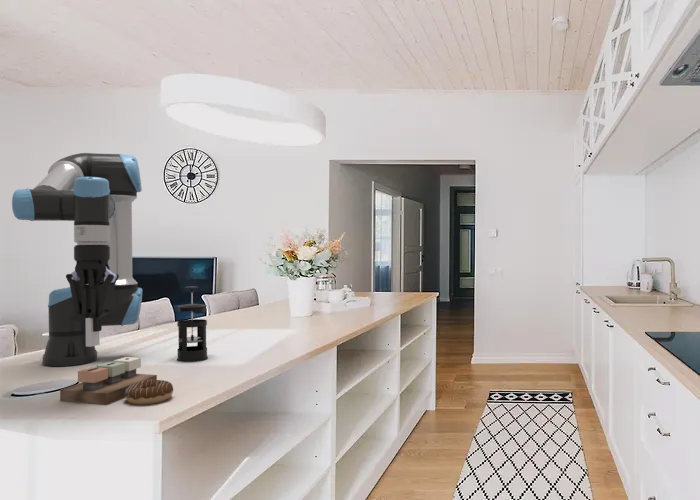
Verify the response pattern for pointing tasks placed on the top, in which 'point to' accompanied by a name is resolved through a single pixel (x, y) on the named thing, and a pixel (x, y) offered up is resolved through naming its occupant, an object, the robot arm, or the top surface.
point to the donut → (148, 392)
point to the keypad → (103, 388)
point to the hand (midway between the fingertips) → (92, 345)
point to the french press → (197, 351)
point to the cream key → (130, 363)
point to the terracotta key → (92, 375)
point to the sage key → (113, 368)
